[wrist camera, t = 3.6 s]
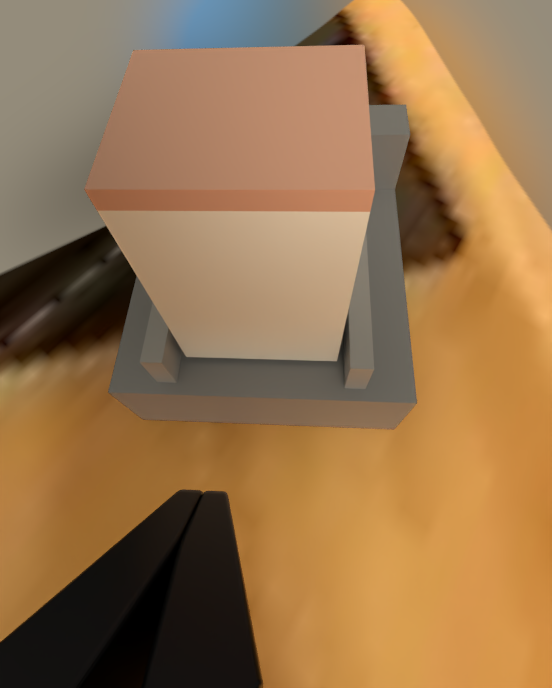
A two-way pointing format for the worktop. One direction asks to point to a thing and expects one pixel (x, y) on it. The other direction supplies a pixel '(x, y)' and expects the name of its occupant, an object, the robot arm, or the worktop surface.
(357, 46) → the white block
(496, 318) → the worktop surface
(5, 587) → the worktop surface
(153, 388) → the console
